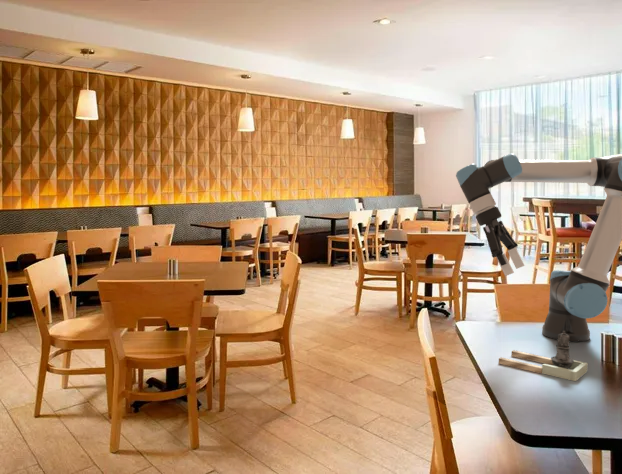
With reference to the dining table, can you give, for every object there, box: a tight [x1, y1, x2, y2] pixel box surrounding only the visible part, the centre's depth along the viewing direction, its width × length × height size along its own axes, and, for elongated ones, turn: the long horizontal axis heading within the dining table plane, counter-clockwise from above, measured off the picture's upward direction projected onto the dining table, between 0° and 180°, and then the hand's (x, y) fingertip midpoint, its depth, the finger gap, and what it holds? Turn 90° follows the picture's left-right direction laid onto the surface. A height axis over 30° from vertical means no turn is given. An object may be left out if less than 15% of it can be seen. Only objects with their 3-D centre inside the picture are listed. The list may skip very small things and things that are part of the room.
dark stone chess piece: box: [551, 331, 575, 369], centre depth 155 cm, size 6×6×12 cm
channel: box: [498, 349, 554, 375], centre depth 162 cm, size 12×11×2 cm
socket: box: [541, 359, 589, 382], centre depth 155 cm, size 9×10×2 cm
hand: (515, 270), depth 174 cm, fingers open, 13 cm apart
